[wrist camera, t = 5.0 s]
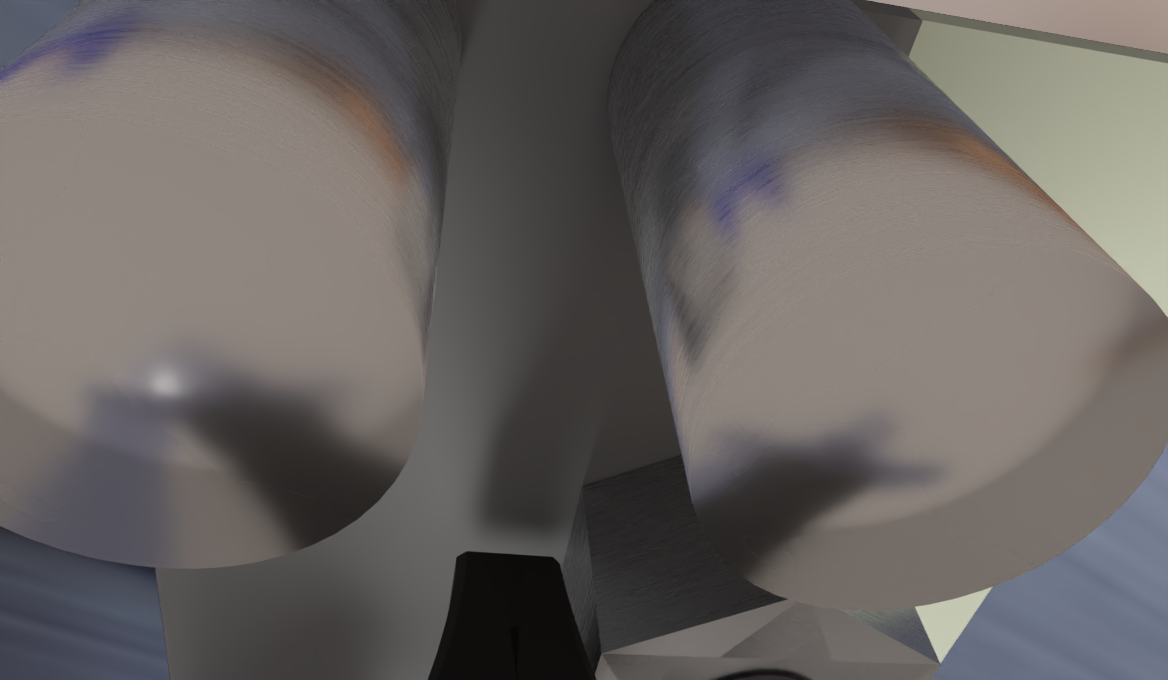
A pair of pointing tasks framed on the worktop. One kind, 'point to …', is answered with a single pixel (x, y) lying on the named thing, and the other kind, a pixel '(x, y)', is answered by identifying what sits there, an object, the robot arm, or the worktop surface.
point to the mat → (610, 322)
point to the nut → (708, 601)
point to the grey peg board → (667, 262)
